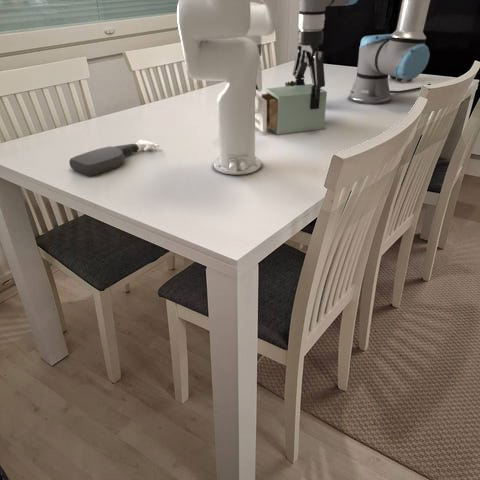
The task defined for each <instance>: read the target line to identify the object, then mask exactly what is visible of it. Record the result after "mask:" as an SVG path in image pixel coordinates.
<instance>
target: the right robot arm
mask: <svg viewBox="0 0 480 480" xmlns="http://www.w3.org/2000/svg"><path fill="white" fill-rule="evenodd" d="M358 1H359V0H299V8H298V9H299V12H298V29H299V30H298V32H297V44H298V45H297V46H296V54H295V60H294V65H293V69H292V77H294V79H295V81H296V83H295V86H297V85H304V82H305V74H306V71H307V68H309V72H310V77H311V78H310V79H311V82H312V83H311V84H312V85H313V86H312V87H311V102H310V109H319V101H320V89H322V88H324V87H326V79H325V66H324V65H325V64H324V54H325V53H324V51H323V50H322V51H319V46H321V45H322V44H323V43H324V34H325V33H324V30H323V29H324V28H325V20H326V15H325V14H326V7H327V8H328V7H338V6H339V7H340V6H346V7H348V6H349V5H351V6H352V5H354V4H357V2H358ZM430 2H431V0H402V1H401V6H400V11H399V15H398V21H397V26H396V29H395V31H393V32H392V33H386V34H373V35H365V36H363V37H362V38H361V40H360V45H359V47H358V48H359V49H358V58H357V59H358V60H357V68H356V69H357V70H356V77H355V80H354V82H353V84H352V88H351V90H350V92H349V97H348V98H349V100H350V101H352V102H355V103H360V104H366V105H380V104H384V103H388V102H390V98H391V94H402V93H408V92H413V91H419V90H422V89H421V87H422V86H418V87H414V88H409V89H403V90H402V89H401V90H390V85H389V77H390V76H394V77H396V79H397V78H399V79H402V80H409V79H412V80H413V79H416V78H417V77H418V76H420V74H422V73H423V71H424V70H425V69H426V67H427V66H428V63H429V60H430V55H431V54H430V49H429V47H428V46H427V45H426V42H427V41H426V40H427V36H426V35H425V33H424V28H425V24H426V21H427V20H426V19H427V15H428V11H429V7H430ZM431 84H432V83H427V84H426V85H431Z"/></svg>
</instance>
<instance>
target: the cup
mask: <svg viewBox="0 0 480 480" xmlns="http://www.w3.org/2000/svg"><path fill="white" fill-rule="evenodd" d="M295 83H296V80H295V81H294V80H291V81H287V82H285V84H284V87H287V86H295ZM304 85H306V82H305V81H304Z"/></svg>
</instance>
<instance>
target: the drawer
mask: <svg viewBox="0 0 480 480" xmlns="http://www.w3.org/2000/svg"><path fill="white" fill-rule="evenodd" d="M277 107H278V99H277V98H275V97H274V96H272V95H270V94H266V93H261V95H259V94H258V93H256V97H255V128H257V129H258V130H259V131H260V132H262V133H267V129H269V130H272V129H277Z"/></svg>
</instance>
